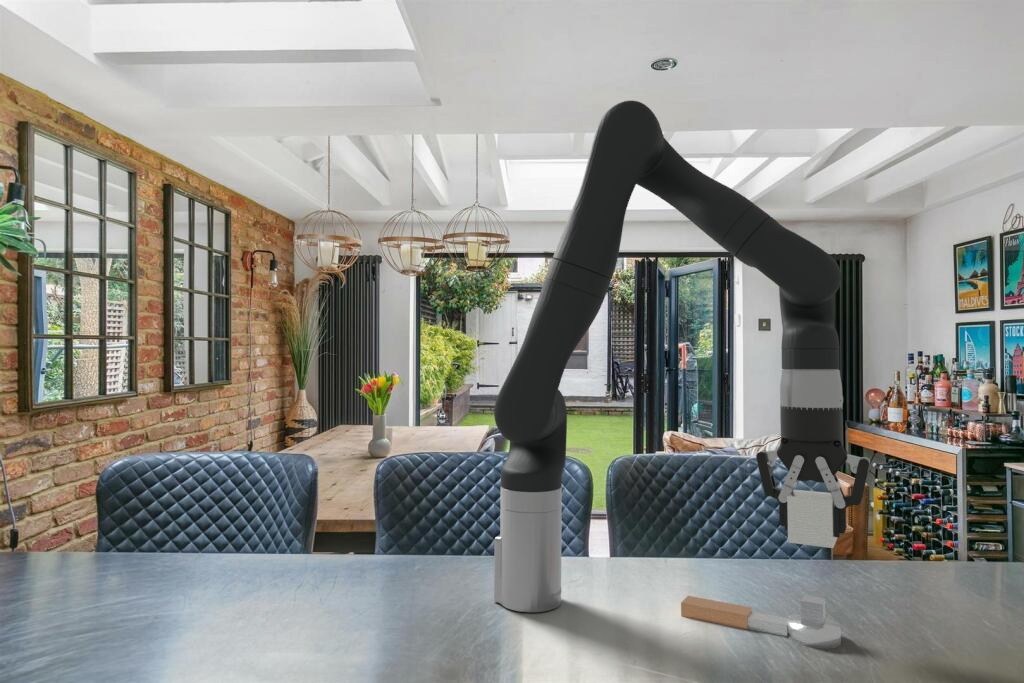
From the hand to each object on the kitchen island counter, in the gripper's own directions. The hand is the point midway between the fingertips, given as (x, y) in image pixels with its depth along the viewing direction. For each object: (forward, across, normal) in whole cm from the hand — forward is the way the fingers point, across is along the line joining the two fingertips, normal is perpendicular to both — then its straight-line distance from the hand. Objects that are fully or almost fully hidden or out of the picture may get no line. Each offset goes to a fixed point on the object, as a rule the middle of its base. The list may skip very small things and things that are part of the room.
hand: (812, 532), depth 87 cm
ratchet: (+14, -7, 0) cm, 15 cm away
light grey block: (+1, 0, 0) cm, 1 cm away
